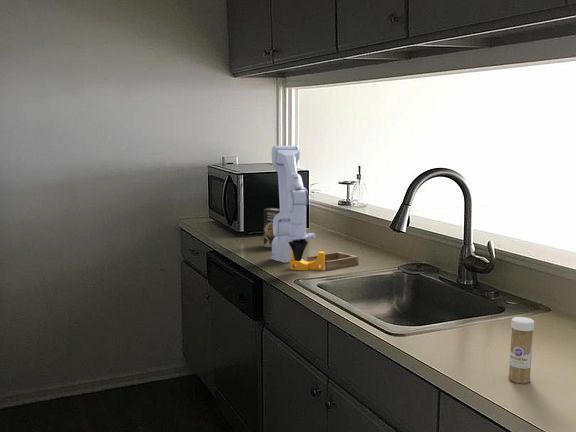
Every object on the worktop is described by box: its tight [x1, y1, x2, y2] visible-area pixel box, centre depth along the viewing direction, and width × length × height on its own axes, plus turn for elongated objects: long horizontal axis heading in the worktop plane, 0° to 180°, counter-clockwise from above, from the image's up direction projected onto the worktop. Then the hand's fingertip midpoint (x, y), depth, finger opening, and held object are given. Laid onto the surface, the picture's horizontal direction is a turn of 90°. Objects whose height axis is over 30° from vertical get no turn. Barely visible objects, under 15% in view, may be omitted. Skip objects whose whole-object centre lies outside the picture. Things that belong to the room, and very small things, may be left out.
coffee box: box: [263, 207, 287, 248], centre depth 286 cm, size 9×6×16 cm
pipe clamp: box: [289, 251, 326, 271], centre depth 246 cm, size 12×4×6 cm, turn 77°
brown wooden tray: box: [306, 251, 359, 271], centre depth 253 cm, size 11×16×3 cm
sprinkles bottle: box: [508, 316, 535, 384], centre depth 143 cm, size 5×5×13 cm
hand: (297, 260), depth 242 cm, fingers closed
